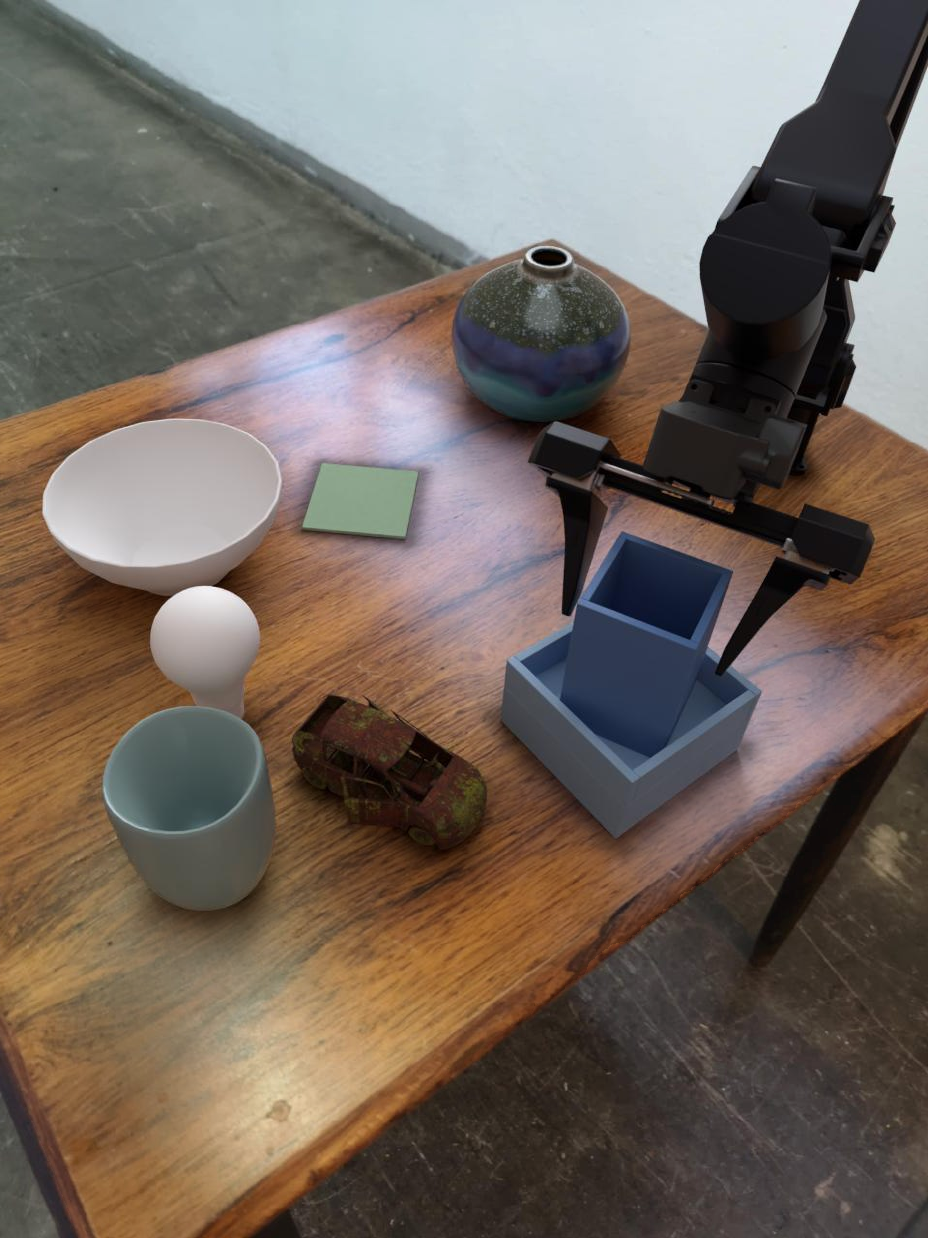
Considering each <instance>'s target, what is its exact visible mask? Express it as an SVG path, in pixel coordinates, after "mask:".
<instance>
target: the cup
mask: <svg viewBox="0 0 928 1238" xmlns="http://www.w3.org/2000/svg"><path fill="white" fill-rule="evenodd" d="M103 769H104V770H103V773H102V777H101V797H102V801H103V805H104V808H105V812H106V815H107V817H108V820H109V822H110V824H111V827H112V830H113V831H114V834H115V836H116V838H117V840H118V843H119V844H120V846H121V849H122V851H123V852H124V855H125V856H126V858H127V860H128V861H129V864H130V865H131V867H132V868H133V869H134V871H135V873H136V874H137V875H138V877H139V878H140V880H141V881H142V882H143V884H144V885H145V886H146V887H147V888H148V889H149V890H151V891H152V892H153V893H154V894H155V895H157V897H159V898H160V899H161V900H163V901H166V902H167V903H170V904H171V905H173V906H175V907H178V908H181V909H185V910H191V911H197V912H206V911H207V912H209V911H216V910H220V909H225V908H229V907H230V906H232V905H236V904H237V903H238V902H240V901H242V900H243V899H244V898H246V897H247V896H249V895H250V893H252V892H253V891H254V890H255V888H256V887H257V886H258V884H259V883H260V881H261V880H262V879H263V877H264V876H265V873H266V871H267V869H268V867H269V865H270V862H271V859H272V857H273V853H274V848H275V842H276V831H277V830H276V829H277V816H276V808H275V801H274V794H273V793H274V792H273V787H272V786H273V785H272V781H271V775H270V770H269V766H268V760H267V756H266V752H265V749H264V746H263V744H262V741H261V739H260V737H259V735H258V734H257V732H256V731H255V730H254V729H253V727H251V725H250V723H247V722H246V721H245V720H243V718H242V719H240V718H239V717H237V716H235V715H233V714H231V713H228V712H226V711H222V710H219V709H215V708H211V707H202V706H196V705H181V706H175V707H170V708H166V709H162V710H160V711H157V712H154V713H152V714H151V715H148V716H147V717H144V718H143V719H141V720H140V721H139V722H137V723H136V724H134V726H132V727H130V728H129V729H128V731H127V732H126V733H125V734H123V736H122V737H121V738H120V739H119V741H118V742H117V743H116V745H115V746H114V748H113V750H112V751H111V752H110V754H109V757H108V758H107V761H106V763H105V766H104V768H103Z"/></svg>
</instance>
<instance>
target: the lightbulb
mask: <svg viewBox="0 0 928 1238" xmlns="http://www.w3.org/2000/svg"><path fill="white" fill-rule="evenodd" d="M152 621H153V622H152V625H151V629H150V634H149V635H150V637H149V638H150V639H149V645H150V650H151V654H152V658H153V660H154V662H155V664H156V667H157V668H158V669H159V670H160V672H161V673H162V674H163V675H164V677H166V678H167V679H168V680H170V681H171V682H172V683H174V684H175V685H177V686H178V687H180V688H181V689H183V690H186V691H187V692H188V693H189V694H190V696H191V698H192V700H193V702H194V704H195V706H202V707H211V708H215V709H219V710H222V711H226V712H228V713H231V714H233V715H235V716H237V717H239V718H240V719H242V720H243V718H244V716H245V704H244V698H245V692H246V689H245V687H246V686H245V680H246V679H245V678H246V676H247V675H248V674H249V672H250V671H251V669H252V667H253V665H254V663H255V661H256V659H257V657H258V654H259V650H260V645H261V632H260V631H261V630H260V627H259V623H258V620H257V617H256V616H255V614H254V613H253V611H252V609H251V608H250V607H249V605H248V604H247V603H246V602H245V601H244V600H243V599H242V598H241V597H240V596H238V595H236V594H235V593H233V592H232V591H230V590H227V589H224V588H221V587H216V586H197V587H192V588H188V589H186V590H183V591H181V592H179V593H177V594H176V595H174V596H171V597H170V598H168V599H167V600H166V601H165V603H163V605H162V606H161V607H160V609H159V610H158V612H157V613H156V615H155V616H154V619H153V620H152Z"/></svg>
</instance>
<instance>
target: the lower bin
mask: <svg viewBox="0 0 928 1238" xmlns="http://www.w3.org/2000/svg"><path fill="white" fill-rule="evenodd" d="M573 623H574V620H572V621H571V622H570V623H567V624H566V625H564V626H563V627H561V628H560V629H557V630H555V631H554V632H552V633H550V634H549V635H547V636H545V637H543V638H542V639H540V640H539V641H537V642H535V643H533V644H531V645H530V646H528V647H526V648H525V649H523V650H521V651H520V652H518V653H516V654H514V655H512V656H510V657H509V658H508V659H506V663H505V672H504V683H503V692H502V699H501V709H500V721H501V722H502V723H503V724H504V725H505V726H506V727H507V728H508V729H509V730H510V731H511V732H512V734H514V736H515V737H517V739H519V741H520V742H521V744H523V745H524V746H525V747H526V748H527V749H528V750H529V751H530V752H531V753H532V754H533V755H534V756H535V757H536V758H537V759H538V760H539V762H540V763H542V764H543V765H544V767H546V769H547V770H548V771H550V773H551V774H552V775H553V776H554V777H555V778H556V779H557V780H558V781H559V782H560V783H561V784H562V785H563V786H564V787H565V788H566V789H567V790H568V791H569V792H570V793H571V794H572V796H574V798H575V799H576V800H577V801H578V802H579V803H580V804H581V805H582V806H583V807H584V809H586V810H587V811H588V812H589V813H590V814H591V815H592V816H593V817H594V819H596V820H597V821H598V823H600V824H601V825H602V827H604V828H605V829H606V831H607V832H608V833H609V834H610V835H611V836H612V837H613V838H614V839H618V838H619V837H620V836H621V835H623V834H624V833H625V832H627V831H628V830H630V829H631V828H632V827H634V826H635V825H637V824H638V823H640V822H641V821H642V820H644V819H645V818H646V817H648V816H649V815H650V814H652V813H653V812H654V811H656V810H657V809H659V808H660V807H661V806H663V805H664V804H666V803H667V802H668V801H669V800H671V799H672V798H674V797H675V796H677V795H678V794H679V793H680V792H682V791H683V790H685V789H686V788H687V787H689V786H690V785H692V784H693V783H694V782H695V781H697V780H698V779H700V778H701V777H702V776H704V775H705V774H706V773H707V772H709V771H711V769H713V768H714V767H716V766H717V765H719V764H720V763H721V762H723V761H725V760H726V759H727V758H728V757H729V756H731V755H733V754H734V753H735V752H736V751H738V749H739V747H740V745H741V742H742V740H743V738H744V735H745V733H746V730H747V729H748V726H749V723H750V722H751V719H752V716H753V714H754V712H755V710H756V707H757V706H758V705H757V704H758V703H759V700H760V698H761V696H762V693H763V690H761V688H759V687H758V686H757V685H755V684H754V683H753V682H752V681H750V680H749V679H748V678H747V677H745V675H743V673H741V672H740V671H738V669H736V668H735V667H734V666H732V664H731V665H730V667H729V668H728V669H727V670H726V672H725V673H724V674H723V675H722V676H718V675H715V671H716V669H717V666H718V664H719V661H720V659H721V656H720V655H719V654H718V653H717V652H715V651H714V650H713V649H712V648H710V646H708V648H707V651H706V653H705V656H704V659H703V662H702V665H701V668H700V671H699V674H698V677H697V680H696V683H695V686H694V688H693V690H692V692H691V694H690V696H689V699H688V701H687V703H686V705H685V707H684V710H683V712H682V714H681V716H680V718H679V720H678V723H677V725H676V727H675V729H674V731H673V734H672V736H671V738H670V740H669V742H668V744H667V747H666V748H664V749H663V750H661V751H660V752H658V753H657V754H656V755H654V756H653V757H651V758H650V757H648V756H645V755H643V754H640V753H638V752H636V751H633V750H631V749H629V748H626V747H624V746H622V745H619V744H617V743H615V742H612V741H610V740H608V739H605V738H603V737H601V736H598V735H596V734H594V733H593V732H592V731H591V730H590V729H589V728H588V727H587V726H586V725H585V724H584V723H583V722H582V721H581V720H580V719H579V718H578V717H577V716H576V715H575V714H574V713H572V712H571V711H570V710H569V709H568V708H567V707H566V706H565V705H564V704H563V703H562V702H561V701H560V696H561V690H562V684H563V679H564V673H565V668H566V662H567V657H568V651H569V646H570V640H571V634H572V629H573Z"/></svg>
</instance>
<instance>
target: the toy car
mask: <svg viewBox="0 0 928 1238" xmlns="http://www.w3.org/2000/svg"><path fill="white" fill-rule="evenodd" d="M362 697H363V698H364V699H365V700H366V701H367V702H368V705H367V704H365V703H364V704H363V703H361V702H359V701H357V700H354V699H351V698H349V697H346V696H345V697H344V696H341V695H337V694H336V695H335V694H328V695H327V696H326V697H325V698H324V699H322V701H320V703H318V705H317V706H316V707H315V709H314V710H313V711H312V712H311V713H310V714H309V715H308V716H307V718H306V719H305V720H304V721H303V723H301V725H300V726H299V727H298V728H297V729H296V730H295V732H294V733H293V734H292V738H291V743H292V748H291V751H292V755H293V758H294V761H295V763H296V765H297V767H298V769H299V770H300V771H302V770H303V769H304V768H305V769H304V770H303V771H302V774H303V777H304V778H305V780H306V781H307V782H308V783H309V784H310V785H311V786H313V787H315V788H316V789H319V790H325V789H326V788H328V790H329V792H332V793H334V794H335V795H338V796H341V797H342V798H343V799H344V800H343V804H344V807H345V810H346V817H347V824H348V825H354V826H373V827H386V828H387V827H388V828H401V829H402V830H403V831H407V830H408V835H409V836H410V838H411V839H412V840H413V841H415V842H417V843H418V844H421V845H425V846H434V845H435V844H436V845H437V847H438V848H439V849H441V850H447V849H450V848H454V847H456V846H459V844H461V843H462V842H463V841H464V840H466V839H467V838H468V836H470V834H471V833H472V832H473V831H474V829H475V828H476V826H477V825H478V823H479V821H480V820H481V818H482V817H483V815H484V813H485V810H486V807H487V806H486V805H487V801H488V800H487V799H488V787H487V785H486V782H485V780H484V778H483V776H482V773H481V772H480V770H479V768H478V767H477V766H475V765H473V764H472V763H470V761H467V760H466V759H464V758H463V757H461V756H460V755H458V754H457V753H455V752H453V751H451V750H450V749H448V748H446V747H444V746H442V745H440V744H438V743H437V742H436V741H434V740H432V739H431V738H430V737H429V736H428V735H427V734H426V733H424V732H423V731H421V729H419V728H418V727H416V726H415V725H414V724H412V723H411V722H410V721H408V720H406V719H405V718H404V717H403V716H401V715H400V714H398V713H397V712H395V711H394V710H392V709H390V710H389V711H390V712H391V713H392V714H393V715H394V717H396V718H394V717H393V716H391V715H389V714H388V713H387V712H385V710H383V709H382V708H381V707H380V706H378V705H377V704H376V703H375V702H373V701H372V700H371V699H369V698H368V697H367V696H365V695H362ZM410 751H412V752H413V753H412V752H410ZM414 753H415V754H414Z"/></svg>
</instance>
